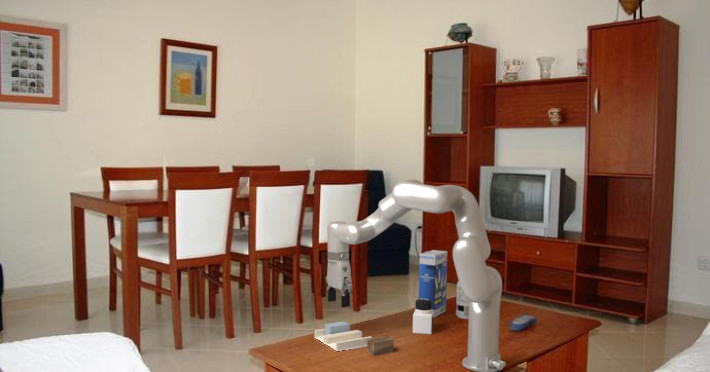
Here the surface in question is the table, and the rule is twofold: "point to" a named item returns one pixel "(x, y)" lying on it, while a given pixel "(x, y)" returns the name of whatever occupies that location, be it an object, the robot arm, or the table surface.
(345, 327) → the slate bar
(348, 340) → the slot board
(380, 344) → the walnut bar
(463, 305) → the supplement can
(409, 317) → the table surface
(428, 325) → the medicine bottle
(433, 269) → the string lights box
